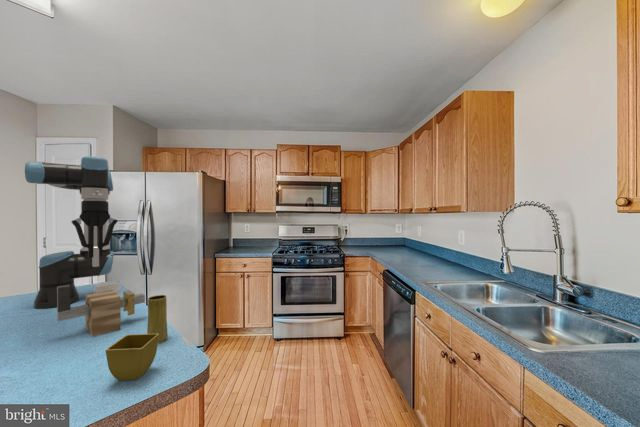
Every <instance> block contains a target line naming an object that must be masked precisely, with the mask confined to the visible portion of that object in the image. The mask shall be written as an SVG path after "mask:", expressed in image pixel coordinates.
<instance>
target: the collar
mask: <svg viewBox="0 0 640 427" xmlns="http://www.w3.org/2000/svg"><path fill="white" fill-rule="evenodd" d="M122 294H123V295H122V297H125V298H127V299H128V306H126V307H122V308H123V310H122V311H123V312H124V313H125V312H127V316H132V315H135V313H136V312H135V306H136V305H135V300H134V295H135V293H134V292H133V291H131V290H130V289H129V290H123V291H122Z"/></svg>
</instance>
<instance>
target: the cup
mask: <svg viewBox="0 0 640 427" xmlns="http://www.w3.org/2000/svg"><path fill="white" fill-rule="evenodd" d="M93 287H94V289H93V293H98V292H103V291H109V290H113V291H114V292H116V293H117V294H118V295H119V296H120V297H121V291H122V287H121V281H120V280H119V281H118V280H110V281H109V280H108V281H103V282H99V283H96V284H94V286H93Z"/></svg>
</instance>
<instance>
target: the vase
mask: <svg viewBox="0 0 640 427" xmlns="http://www.w3.org/2000/svg"><path fill="white" fill-rule="evenodd" d="M147 301H148V302H147V328H146V329H147V331H146V334H159V337H158V344H160V343H163V342H165V341H167V340H168V339H169V335H168V320H167V313H168V312H167V311H168V310H167V307H168V306H167V294H166V295H165V294H157V295H153V296H149V297H148V298H147Z"/></svg>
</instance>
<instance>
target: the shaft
mask: <svg viewBox="0 0 640 427" xmlns="http://www.w3.org/2000/svg"><path fill="white" fill-rule="evenodd" d="M145 299H146V296H145V294H144V293H139V294H134V300H135V306H136V305H139V304H145V302H146V300H145ZM126 306H128V299H127V298H125V297H123V296H122V297H120V309H121V308H123V307H126ZM86 315H90V305H89V304H86V303H85V304H82V305H77V306H71V304H70V285H63V286H57V307H56V317H57V321H58V322H62V321H66V320H70V319H71V320H72V319H76V318H80V317H84V316H85V317H86Z"/></svg>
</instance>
